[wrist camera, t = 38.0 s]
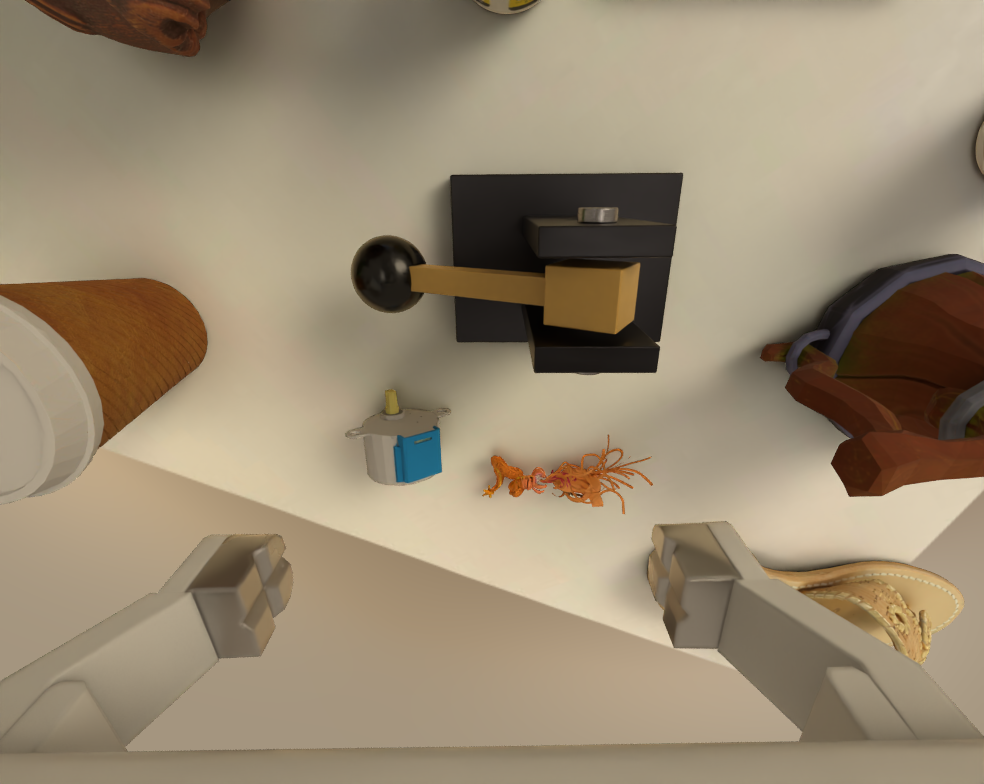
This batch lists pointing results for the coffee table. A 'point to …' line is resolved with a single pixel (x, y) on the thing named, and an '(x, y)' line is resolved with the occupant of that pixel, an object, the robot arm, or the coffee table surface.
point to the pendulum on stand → (560, 236)
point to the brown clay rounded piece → (137, 21)
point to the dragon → (565, 479)
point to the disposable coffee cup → (83, 371)
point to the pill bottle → (980, 148)
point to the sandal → (882, 600)
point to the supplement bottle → (507, 5)
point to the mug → (899, 374)
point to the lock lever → (500, 285)
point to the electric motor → (401, 443)
